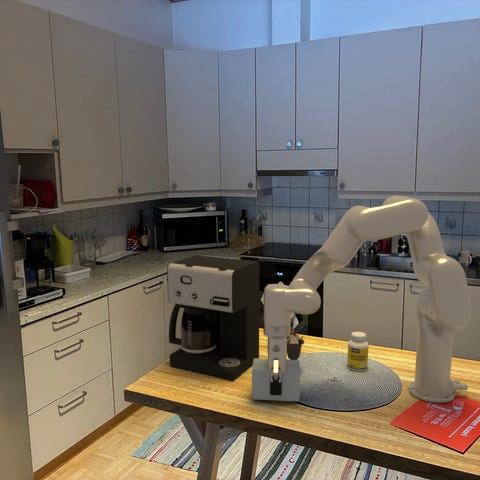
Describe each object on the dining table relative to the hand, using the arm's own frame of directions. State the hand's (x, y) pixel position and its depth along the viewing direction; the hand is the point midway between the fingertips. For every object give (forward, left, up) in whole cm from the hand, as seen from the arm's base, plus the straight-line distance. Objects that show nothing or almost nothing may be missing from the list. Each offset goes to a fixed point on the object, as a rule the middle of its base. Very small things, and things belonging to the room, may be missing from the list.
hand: (276, 387), depth 138 cm
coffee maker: (+23, -23, -3) cm, 33 cm away
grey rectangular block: (0, 0, -2) cm, 2 cm away
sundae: (-5, -19, -3) cm, 20 cm away
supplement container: (-2, -39, -3) cm, 39 cm away
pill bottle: (-26, -23, -3) cm, 35 cm away
